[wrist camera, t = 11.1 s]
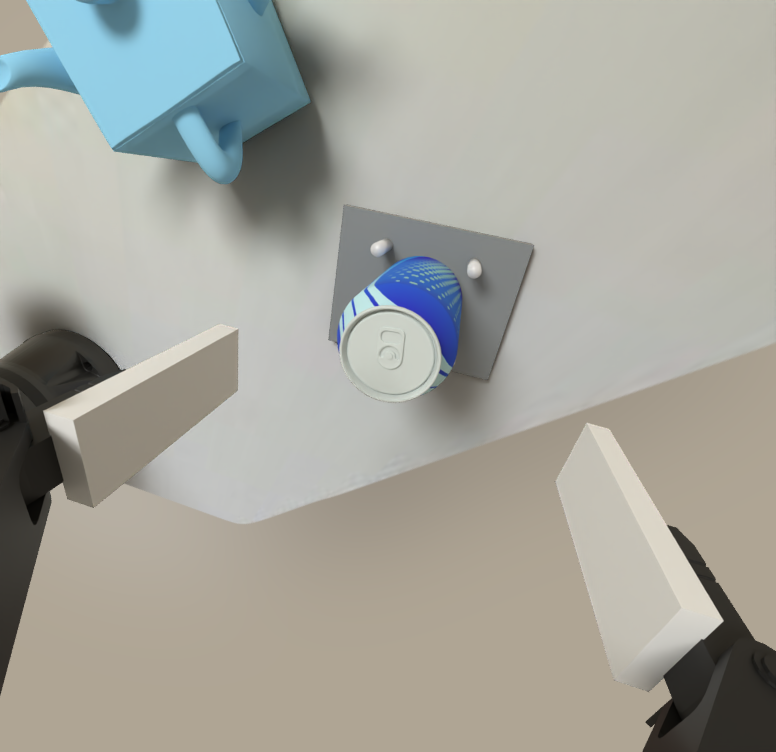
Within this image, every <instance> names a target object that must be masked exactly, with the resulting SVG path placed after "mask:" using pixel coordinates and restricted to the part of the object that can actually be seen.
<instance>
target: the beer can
mask: <svg viewBox="0 0 776 752" xmlns="http://www.w3.org/2000/svg"><path fill="white" fill-rule="evenodd" d="M461 310H462V292H461V287H460V284H459V282H458V280H457V278H456V276H455V275H454V273H453V272H452V271H451V270H450V269H449V268H448V267H447V266H446V265H445V264H443V263H441V262H440V261H438V260H436V259H433V258H430V257H425V256H413V257H408V258H405V259H402V260H400V261H398V262H396V263H395V264H393V265H392V266H391V267H390V268H388V269H387V270H386V271H385V272H384V273H382V274H381V275H380V276H379V277H378V278H377V279H375V280H374V281H373V282H372V283H371V284H369V285H368V286H367V287H366V288H365V289H363V290H362V291H361V292H360V293H359V294H358V295H356V296H355V297H354V298H353V299H352V300H351V301H350V303H349V304H348V305H347V307H346V308H345V310H344V312H343V314H342V316H341V318H340V321H339V325H338V330H337V344H338V350H339V354H340V360H341V364H342V367H343V370H344V372H345V374H346V376H347V377H348V379H349V380H350V381H351V383H352V384H353V385H354V386H355V387H356V388H357V389H359V390H360V391H361V392H362V393H364V394H366V395H367V396H369V397H371V398H374V399H376V400H379V401H384V402H392V403H396V402H405V401H409V400H412V399H414V398H417V397H418V396H421V395H423V394H426V393H428V392H429V391H431V390H433V389H434V388H436V387H437V386H438V385H439V384H441V383H442V382H443V381H444V380H445V378H446V377H447V376H448V374H449V373H450V371H451V369H452V367H453V365H454V362H455V360H456V356H457V350H458V341H459V330H460V320H461Z"/></svg>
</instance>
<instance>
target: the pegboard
mask: <svg viewBox="0 0 776 752" xmlns="http://www.w3.org/2000/svg"><path fill="white" fill-rule="evenodd" d="M533 247H534V245H533V244H530V243H526V242H521V241H516V240H511V239H507V238H502V237H497V236H493V235H488V234H483V233H478V232H474V231H469V230H464V229H460V228H455V227H450V226H445V225H441V224H436V223H431V222H427V221H422V220H417V219H413V218H408V217H403V216H398V215H394V214H389V213H384V212H380V211H375V210H370V209H365V208H361V207H356V206H351V205H344V208H343V217H342V226H341V235H340V243H339V252H338V261H337V269H336V278H335V287H334V296H333V304H332V313H331V322H330V330H329V339H328V340H330V341H334V342H337V330H338V325H339V321H340V318H341V316H342V314H343V312H344V310H345V308H346V307H347V305H348V304H349V303H350V301H351V300H352V299H353V298H354V297H355V296H356V295H358V294H359V293H360V292H361V291H362V290H363V289H365V288H366V287H367V286H368V285H369V284H371V283H372V282H373V281H374V280H375V279H377V278H378V277H379V276H380V275H381V274H382V273H384V272H385V271H386V270H387V269H388V268H390V267H391V266H392V265H393V264H395V263H396V262H398V261H400V260H402V259H405V258H408V257H413V256H425V257H430V258H433V259H436V260H438V261H440V262H441V263H443V264H445V265H446V266H447V267H448V268H449V269H450V270H451V271H452V272H453V273H454V275H455V276H456V278H457V280H458V282H459V284H460V287H461V292H462V310H461V320H460V330H459V341H458V350H457V356H456V360H455V362H454V365H453V367H452V369H451V371H453V372H457V373H461V374H465V375H469V376H473V377H477V378H481V379H485V380H488V378H489V375H490V372H491V369H492V366H493V363H494V360H495V357H496V354H497V352H498V349H499V346H500V343H501V340H502V337H503V334H504V331H505V328H506V325H507V323H508V320H509V317H510V314H511V311H512V308H513V305H514V302H515V299H516V296H517V294H518V291H519V288H520V285H521V282H522V279H523V276H524V273H525V270H526V267H527V264H528V262H529V259H530V256H531V253H532V250H533Z"/></svg>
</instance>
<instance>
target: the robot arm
mask: <svg viewBox="0 0 776 752" xmlns="http://www.w3.org/2000/svg"><path fill="white" fill-rule="evenodd" d="M236 391H238V329H237V328H234V327H230V326H226V325H222V324H218V325H216V326H214V327H212V328H210V329H208V330H206V331H204V332H202V333H200V334H198V335H196V336H194V337H192V338H190V339H188V340H186V341H184V342H182V343H180V344H178V345H176V346H174V347H172V348H170V349H168V350H166V351H164V352H162V353H160V354H158V355H156V356H154V357H151V358H149V359H147V360H145V361H143V362H141V363H139V364H137V365H135V366H133V367H131V368H129V369H127V370H126V369H124V370H120V371H119V369H118V367H117V366H116V364H115V363H114V362H113V361H112V359H111V358H110V357H109V356H108V355H107V354H106V353H105V352H104V351H103V350H102V349H101V348H100V347H99V346H97V345H96V344H95V343H93V342H92V341H90V340H89V339H87V338H85V337H83V336H81V335H79V334H77V333H74V332H71V331H67V330H52V331H48V332H45V333H42V334H38V335H35V336H33V337H31V338H29V339H27V340H26V341H25V342H24V343H23V344H21V345H20V346H18V347H17V348H15V349H14V350H13V351H11V352H10V353H8V354H7V355H6V356H4V357H3V358H2V359H0V694H1V691H2V687H3V683H4V679H5V675H6V672H7V668H8V664H9V660H10V657H11V653H12V649H13V645H14V642H15V638H16V634H17V630H18V626H19V623H20V619H21V615H22V611H23V607H24V603H25V600H26V596H27V592H28V588H29V585H30V581H31V577H32V574H33V569H34V566H35V562H36V558H37V555H38V551H39V547H40V543H41V539H42V536H43V532H44V528H45V525H46V521H47V516H48V513H49V509H50V506H51V495H50V490H52V489H53V488H55V487H56V486H58V485H59V484H61V483H62V482H63V485H64V488H65V492H66V496H67V499H69V500H72V501H75V502H78V503H81V504H84V505H87V506H90V507H93V508H94V507H95V506H97V505H98V504H99V503H100V502H101V501H103V500H104V499H105V498H106V497H108V496H109V495H110V494H111V493H112V492H114V491H115V490H116V489H117V488H118V487H120V486H121V485H122V484H124V483H125V482H126V481H127V480H128V479H130V478H131V477H132V476H133V475H135V474H136V473H137V472H138V471H140V470H141V469H142V468H143V467H144V466H146V465H147V464H148V463H149V462H151V461H152V460H153V459H154V458H155V457H157V456H158V455H159V454H160V453H162V452H163V451H164V450H165V449H167V448H168V447H169V446H170V445H171V444H173V443H174V442H175V441H176V440H178V439H179V438H180V437H181V436H182V435H184V434H185V433H186V432H187V431H189V430H190V429H191V428H192V427H194V426H195V425H196V424H197V423H198V422H200V421H201V420H202V419H203V418H205V417H206V416H207V415H208V414H209V413H211V412H212V411H213V410H214V409H216V408H217V407H218V406H219V405H221V404H222V403H223V402H224V401H225V400H227V399H228V398H229V397H230V396H232V395H233V394H234V393H235V392H236ZM556 485H557V489H558V492H559V496H560V499H561V502H562V506H563V509H564V512H565V516H566V519H567V523H568V526H569V530H570V533H571V536H572V540H573V543H574V546H575V550H576V553H577V557H578V560H579V563H580V567H581V570H582V573H583V577H584V580H585V584H586V587H587V590H588V594H589V597H590V601H591V604H592V607H593V611H594V614H595V618H596V621H597V624H598V628H599V631H600V635H601V638H602V642H603V645H604V648H605V652H606V655H607V658H608V662H609V665H610V668H611V672H612V675H613V678H614V680H615V681H618V682H621V683H624V684H627V685H630V686H633V687H636V688H639V689H642V690H645V691H648V692H649V691H650V690H651V689H652V688H654V687H655V686H656V685H657V684H658V683H659V682H660V681H661V680H662V679H663V678H664V679H665V681H666V684H667V686H668V689H669V691H670V694H671V696H672V699H671V700H669V701H668V702H667V703H666V704H665V705H664V706H663V707H661V708H660V709H659V710H658V711H657V712H656V713H655V714H654V715H653V716H651V717H650V718H649V719H648V720H647V721H646V723H647V724H648V725H649V726H650V727H652V726H653V725H654V724H655V725H654V728H653V730H652V732H651V734H650V736H649V738H648V741H647V743H646V745H645V747H644V749H643V752H776V651H775V650H773V649H771V648H770V647H768V646H767V645H765V644H763V643H760V642H757V641H755V639H754V638H753V636H752V635H751V633H750V632H749V630H748V629H747V627H746V625H745V624H744V623H743V621H742V619H741V618H740V616H739V614H738V613H737V611H736V610H735V608H734V607H733V605H732V603H730V600H729V599H728V597H727V596H726V594H725V593H724V591H723V589H722V588H721V586H720V585H719V583H716V582H715V580H716V579H715V577H714V575H713V574H712V572H711V571H710V570H709V568H708V567H706V563H705V561H704V560H703V558H702V557H701V555H700V554H699V552H698V550H697V549H696V547H695V546H694V545H693V544H692V543H691V542H690V541H689V540H688V539H687V538H686V537H685V536H684V535H683V534H682V533H681V532H680V531H679V530H678V529H677V528H676V527H672V526H669V525H666V524H665V522H664V520H663V518H662V517H661V515H660V513H659V512H658V510H657V508H656V507H655V505H654V503H653V502H652V500H651V498H650V497H649V495H648V493H647V492H646V490H645V488H644V487H643V485H642V483H641V482H640V480H639V478H638V476H637V475H636V473H635V471H634V470H633V468H632V467H631V465H630V463H629V461H628V460H627V458H626V456H625V455H624V453H623V451H622V450H621V448H620V446H619V445H618V443H617V441H616V440H615V438H614V436H613V435H612V433H611V431H610V429H608V428H604V427H600V426H596V425H593V424H589V423H586V425H585V427H584V429H583V431H582V433H581V435H580V437H579V438H578V440H577V442H576V444H575V446H574V448H573V450H572V451H571V453H570V455H569V457H568V459H567V461H566V463H565V465H564V466H563V468H562V470H561V472H560V474H559V476H558V478H557V480H556Z"/></svg>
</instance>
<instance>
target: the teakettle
mask: <svg viewBox="0 0 776 752" xmlns="http://www.w3.org/2000/svg"><path fill="white" fill-rule="evenodd" d="M26 1H27V3H28V5H29V6H30V8H31V10H32V12H33V13H34V15H35V17H36V19H37V20H38V22H39V24H40V26H41V27H42V29H43V31H44V33H45V34H46V36H47V38H48V40H49V41H50V43H51V45H52V48H43V49H33V50H25V51H19V52H13V53H9V54H5V55H1V56H0V92H5V91H8V90H12V89H16V88H21V87H46V88H53V89H58V90H63V91H68V92H72V93H76V94H79V95H81V97H82V99H83V101H84V102H85V104H86V106H87V108H88V109H89V111H90V113H91V114H92V116H93V118H94V120H95V121H96V123H97V125H98V126H99V128H100V130H101V132H102V133H103V135H104V137H105V138H106V140H107V142H108V143H109V145H110V147H111V148H112V149H113V151H115V152H122V153H130V154H137V155H145V156H152V157H160V158H167V159H175V160H182V161H190V162H197V163H198V164H199V165H200V167H201V168H202V169H203V171H204V172H205V173H206V174H207V175H208V176H209V177H210V178H211V179H212V180H214V181H215V182H217V183H220V184H229V183H231V182H232V181H234V180H235V179H236V178H237V176H238V174H239V172H240V169H241V166H242V160H243V149H242V143H243V142H245V141H247V140H248V139H250V138H252V137H253V136H255V135H257V134H258V133H260V132H262V131H263V130H265V129H267V128H268V127H270V126H272V125H273V124H275V123H277V122H279V121H280V120H282V119H284V118H285V117H287V116H289V115H290V114H292V113H294V112H295V111H297V110H299V109H301V108H302V107H304V106H306V105H307V104H309V103H311V101H310V98H309V95H308V93H307V90H306V88H305V85H304V82H303V80H302V77H301V75H300V72H299V70H298V67H297V64H296V62H295V59H294V57H293V54H292V52H291V49H290V46H289V44H288V41H287V39H286V36H285V34H284V31H283V28H282V26H281V23H280V21H279V18H278V16H277V13H276V11H275V8H274V5H273V3H272V0H26Z"/></svg>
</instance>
